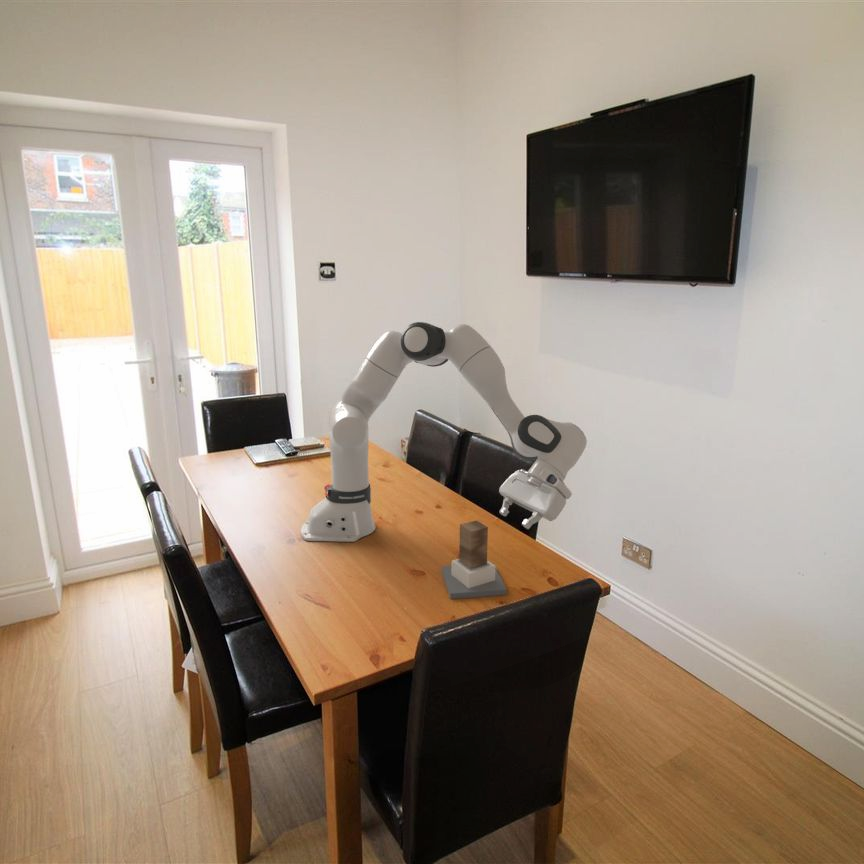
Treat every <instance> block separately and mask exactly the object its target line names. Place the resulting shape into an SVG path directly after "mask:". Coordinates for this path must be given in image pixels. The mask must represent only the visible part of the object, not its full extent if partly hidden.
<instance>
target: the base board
mask: <svg viewBox="0 0 864 864" xmlns="http://www.w3.org/2000/svg"><path fill="white" fill-rule="evenodd" d="M441 574H442V577H443V580H444V584H445V587H446V590H447V592H448V596H449V598H450V600H455V599H456V600H457V599H458V600H459V599H471V598H481V597H482V598H483V597H485V598H486V597H496V596H497V597H498V596H507V595H508V594H507V593H508V589H507V587H506V585H505V583H504V581H503V579H502V577H501V575H500V573H499V571H498V569H497V567H496V565H495V563H494V562H491V561H489V560H488V559H487V564H485V565H482V566H479V567H475V568H472V569H470V568H468V567H467V566H466V565H464V564H463V563H462V562H460V561H459V558H456V559H453V560H451V565H442V566H441Z"/></svg>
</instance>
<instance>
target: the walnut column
mask: <svg viewBox="0 0 864 864" xmlns="http://www.w3.org/2000/svg"><path fill="white" fill-rule="evenodd" d="M488 532H489V528H488V526H486V525H485V524H483V523H482V522H480V521H478V520H476V519H475V520H471V521H468V522H464V523H461V524H460V523H459V549H458V550H459V554H458V555H459V558H458V559H459V561H460V562H462V563H463V564H464V565H466V566H467V567H468V568H470V569H472V568H475V567H479V566H482V565H485V564H487V560H488V542H489V541H488V535H489V533H488Z"/></svg>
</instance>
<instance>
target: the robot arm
mask: <svg viewBox="0 0 864 864" xmlns="http://www.w3.org/2000/svg"><path fill="white" fill-rule="evenodd" d="M449 361H450V362H451V363H452V364H453V365H454V367H456V369H457V371H458V372H459V373H460V374H461V376H462V377H463V378H464V379H465V380H466V382H467V383H468V384H469V385H470V386H471V387H472V388H473V389H474V390H475V391H476V392H477V393H478V395H479V396H480V397H481V398H482V399H483V401H484V402H486V404H488V406H489V408H490V409H491V410H492V412H493V413H494V415H495V416H496V417H497V419H498V420H499V422H500V424H501V425H502V426H503V428H504V429H505V430H506V432H507V434H508V435H509V438H510V443H511V446H512V450H513V452H514V454H516V456H517V457H519V458H520V459H521V460H524V461H527V462H533V461H534V462H533V463H532V465H531V467H530V468H529V469H528V470H525V469H523V468H522V469H518V470H516V471H514V473H512V474H510V475H509V476H508V477H507V478H506V479H505V481H504V482H503V483H502V484H501V485H500V487H499V488H498V489H499V490H498V491H499V492H498V493H499V494H500V495H501V496H503V501H502V505H501V508H500V509H499V511H498V512H499V514H500V515H501V516H503V517H507V516H508V514H509V513H510V510H509V508H510V506H512V505H513V503H514V504H515V505H517V506H519V507H521V508H524V509H525V510H528V511H529V512H531V513H532V514H531V516H530V517H529V518H524V519H523V521H522V522H521V526H523V527H524V528H525V529H526V530H529V529H530V528H531V527H532V525H534V524H536V523H538V522H540V520H541V519H542V518H543V519H545V520H547V521H549V522H553V521H554V520H556V519H557V518H558V516H560V514H561V512H562V511H563V510H564V508H565V507H566V504H567V500H569V499H570V498H571V497H572V495H573V493H572V491H571V490H570V488H568V487H567V485H566V484H565V482H564V480H565V479H566V477H567V475H568V472H569V471H570V470H571V469H572V468H574V467H575V466H576V464H577V462H578V461H579V460H580V458H581V456H582V455H583V453H584V452H585V449H586V446H587V443H588V440H587V437H586V435H585V433H584V431H582V429H581V428H580V427H579V426H578V425H576V424H574V423H573V422H560V421H555V420H552V419H548V418H546V417H544V416H542V415H540V414H530V415H527V416H524V414H523V413H522V411H521V410H520V408H519V407H518V406H517V404H516V402H515V401H514V400H513V399H512V397H511V395H510V392H509V390H508V386H507V378H506V369H505V366H504V365H503V362H502V360H501V359H500V357H499V355H498V354H497V353H496V351H495V350H494V348H493V347H492V346H491V345H490V343H489V342H488V341H487V340H486V339H485V338H484V337H483V336H482V334H480V333H479V332H478V331H477V330H476V329H475V328H473V327H472V326H470V325H469V324H466V323H464V324H463V323H462V324H458V325H456V326H454V327H452V328H451V329H450V330H448V331H444V329H443V328H442V327H438V326H436V325H434V324H431V323H427V322H423V321H417V322H416V321H415V322H412V323H410V324H408V325H407V326H406V327H405V328H404V329H403V330H402V332H399V331H395V330H388V331H385V333H383V334H382V335H381V336H380V338H379V339H378V340H377V341H376V342H375V343H374V345H373V346H372V348H371V349H370V350H369V352H368V353H367V354H366V356H365V358H364V359H363V361H362V362H361V365H360V366H359V368H358V370H357V372H356V373H355V375H354V376H353V378H352V380H351V381H350V382H349V384H348V385H347V386H346V388H345V389H344V391H343V392H342V394H341V396H339V398H338V399H337V401H336V402H335V404H334V406H333V407H332V408H331V411H330V413H329V421H328V422H329V423H328V425H329V428H328V432H329V447H330V450H329V451H330V466H331V467H330V468H331V469H330V472H331V484H330V482H329V483H325V484H324V487H323V488H324V492H325V498H323V499H322V500H321V501H319V502H318V503H317V504H315V505H314V506H313V507H312V508H311V510H310V512H309V514H308V518H307V520H306V521H305V522H304V523H303V524H302V525H301V529H300V535H302V536H301V538H302V537H303V538H302V539H303V540H305V541H308V542H309V541H310V542H341V543H342V542H347V543H348V542H349V543H350V542H351V543H352V542H353V543H354V542H357V541H359V539H361V538H363V537H366V536H369V535H370V534H372V533H373V532H374V531H375V530H376V524H375V521H374V518H373V513H372V506H371V501H372V488H371V484H370V477H369V475H370V474H369V421H370V419H371V417H372V416H373V415H374V413H375V412H376V410H377V409H378V408H379V407H380V406H381V405H382V403H384V402H385V400H386V399H387V397H388V396H389V394H390V392H391V391H392V389H393V387H394V386H395V384H396V382H397V381H398V380H399V377H400V376H401V374H402V373H403V370H404V369H405V368H406V366H407V365H408V364H410V363H412V362H414V363H416V364H420V365H423V366H427V367H433V368H434V367H440V366H443V365H445V364H447V362H449Z"/></svg>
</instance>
